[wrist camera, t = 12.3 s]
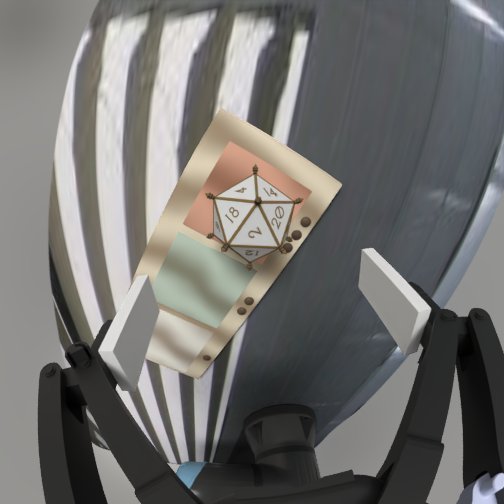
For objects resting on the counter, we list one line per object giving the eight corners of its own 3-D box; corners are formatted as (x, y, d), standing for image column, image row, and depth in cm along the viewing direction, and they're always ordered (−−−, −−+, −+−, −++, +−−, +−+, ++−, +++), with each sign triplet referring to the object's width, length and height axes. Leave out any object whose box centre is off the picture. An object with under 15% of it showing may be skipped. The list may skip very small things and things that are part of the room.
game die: (242, 181, 31) (249, 130, 22) (302, 226, 31) (335, 190, 21) (190, 241, 29) (175, 209, 20) (254, 290, 29) (269, 281, 19)
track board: (198, 373, 42) (198, 379, 40) (112, 336, 37) (109, 342, 36) (338, 182, 30) (342, 184, 28) (221, 108, 25) (220, 107, 24)
